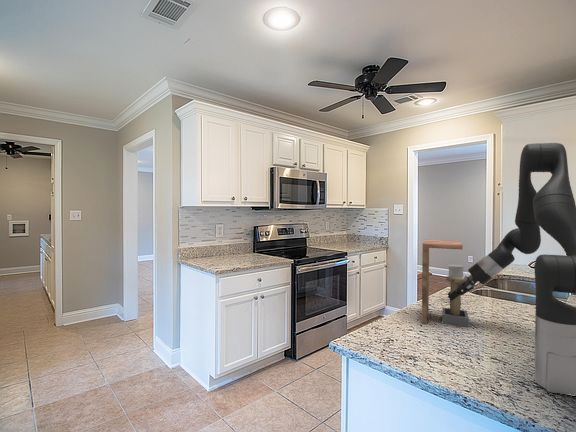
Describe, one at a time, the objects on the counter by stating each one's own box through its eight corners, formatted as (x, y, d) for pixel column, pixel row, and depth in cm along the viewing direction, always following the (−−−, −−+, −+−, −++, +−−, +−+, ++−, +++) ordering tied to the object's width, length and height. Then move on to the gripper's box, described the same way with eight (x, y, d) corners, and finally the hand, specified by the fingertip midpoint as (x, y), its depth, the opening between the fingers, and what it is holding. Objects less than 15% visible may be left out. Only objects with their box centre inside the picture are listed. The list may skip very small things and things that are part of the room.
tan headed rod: (461, 318, 120) (461, 280, 120) (444, 314, 125) (444, 277, 125) (466, 315, 123) (466, 278, 123) (449, 311, 128) (449, 275, 128)
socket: (468, 327, 118) (468, 318, 118) (442, 323, 122) (442, 314, 122) (466, 319, 127) (467, 310, 127) (442, 315, 131) (442, 307, 131)
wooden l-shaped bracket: (461, 329, 115) (462, 245, 115) (421, 323, 121) (422, 243, 121) (459, 315, 131) (460, 240, 131) (424, 310, 137) (425, 239, 137)
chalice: (443, 302, 150) (444, 265, 149) (453, 300, 153) (453, 264, 152) (457, 306, 143) (458, 267, 143) (467, 304, 146) (468, 266, 146)
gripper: (475, 259, 127) (442, 286, 132) (479, 265, 114) (442, 294, 120) (490, 273, 124) (456, 299, 130) (496, 281, 112) (457, 309, 118)
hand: (449, 297), depth 125 cm, fingers closed on tan headed rod, 3 cm apart
